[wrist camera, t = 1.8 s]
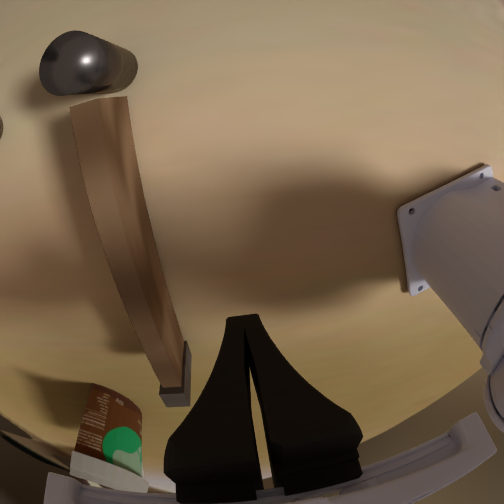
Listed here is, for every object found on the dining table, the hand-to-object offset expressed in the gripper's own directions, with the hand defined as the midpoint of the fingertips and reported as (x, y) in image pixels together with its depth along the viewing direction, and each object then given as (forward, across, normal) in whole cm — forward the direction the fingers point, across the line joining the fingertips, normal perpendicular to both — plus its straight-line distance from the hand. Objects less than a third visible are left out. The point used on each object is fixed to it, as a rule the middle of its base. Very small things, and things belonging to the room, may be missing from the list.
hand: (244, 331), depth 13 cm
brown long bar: (+5, +5, -2) cm, 7 cm away
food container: (+6, +14, +17) cm, 22 cm away
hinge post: (+6, +5, -12) cm, 14 cm away
